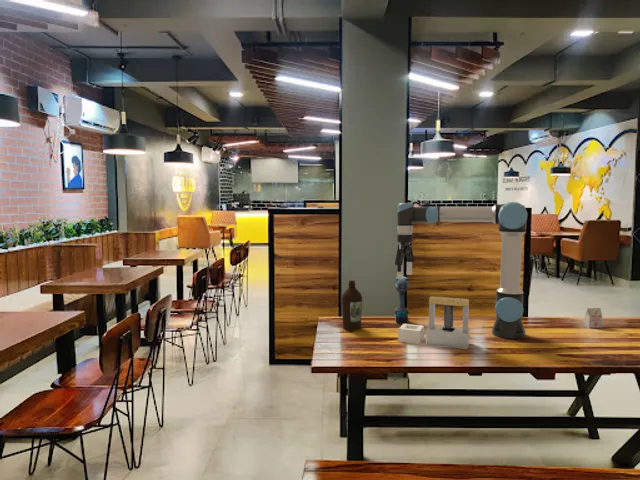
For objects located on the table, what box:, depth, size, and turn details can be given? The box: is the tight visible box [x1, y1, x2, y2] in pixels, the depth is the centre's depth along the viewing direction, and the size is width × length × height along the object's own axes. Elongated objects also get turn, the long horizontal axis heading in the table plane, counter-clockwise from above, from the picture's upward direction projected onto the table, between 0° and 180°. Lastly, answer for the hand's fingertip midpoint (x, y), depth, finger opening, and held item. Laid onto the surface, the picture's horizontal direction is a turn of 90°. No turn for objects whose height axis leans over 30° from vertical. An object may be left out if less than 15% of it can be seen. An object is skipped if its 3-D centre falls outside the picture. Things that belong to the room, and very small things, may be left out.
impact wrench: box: [393, 275, 410, 324], centre depth 256 cm, size 8×23×25 cm, turn 174°
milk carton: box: [584, 307, 603, 329], centre depth 243 cm, size 4×7×10 cm, turn 94°
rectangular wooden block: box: [428, 295, 470, 307], centre depth 214 cm, size 17×4×2 cm, turn 67°
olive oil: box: [341, 279, 363, 331], centre depth 242 cm, size 11×11×25 cm
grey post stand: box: [425, 303, 471, 350], centre depth 214 cm, size 18×10×18 cm, turn 67°
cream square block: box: [397, 323, 425, 345], centre depth 222 cm, size 10×10×6 cm
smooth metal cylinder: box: [443, 304, 454, 331], centre depth 214 cm, size 4×4×16 cm
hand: (404, 276), depth 234 cm, fingers open, 13 cm apart
